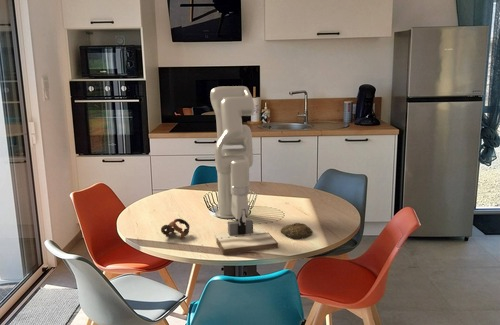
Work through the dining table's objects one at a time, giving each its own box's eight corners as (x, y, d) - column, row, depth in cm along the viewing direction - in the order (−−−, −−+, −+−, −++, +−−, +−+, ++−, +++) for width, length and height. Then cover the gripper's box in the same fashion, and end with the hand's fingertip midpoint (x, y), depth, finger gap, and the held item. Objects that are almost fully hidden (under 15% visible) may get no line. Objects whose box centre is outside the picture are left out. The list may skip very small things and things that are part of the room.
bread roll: (292, 241, 192) (293, 230, 191) (276, 232, 203) (276, 221, 202) (318, 236, 198) (318, 224, 197) (301, 227, 209) (301, 216, 208)
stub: (214, 237, 197) (214, 222, 195) (262, 231, 202) (262, 217, 201) (217, 242, 191) (217, 226, 190) (267, 236, 197) (267, 221, 195)
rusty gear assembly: (178, 231, 206) (185, 216, 203) (187, 246, 200) (195, 231, 197) (154, 230, 198) (161, 215, 194) (162, 246, 192) (170, 231, 188)
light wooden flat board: (216, 243, 191) (216, 237, 190) (268, 237, 196) (268, 231, 196) (223, 254, 179) (223, 249, 179) (278, 248, 185) (278, 242, 185)
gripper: (226, 185, 199) (227, 226, 203) (236, 196, 184) (236, 240, 188) (243, 183, 201) (244, 225, 205) (254, 194, 186) (255, 238, 190)
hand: (240, 232), depth 196 cm, fingers closed on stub, 3 cm apart
